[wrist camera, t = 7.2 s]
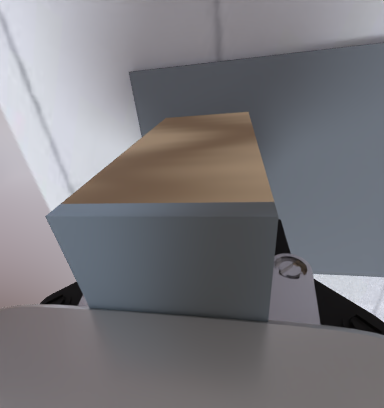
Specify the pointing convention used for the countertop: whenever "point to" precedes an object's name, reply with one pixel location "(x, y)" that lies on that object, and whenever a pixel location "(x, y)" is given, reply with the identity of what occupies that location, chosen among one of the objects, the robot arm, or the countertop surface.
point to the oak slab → (176, 223)
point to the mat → (299, 141)
